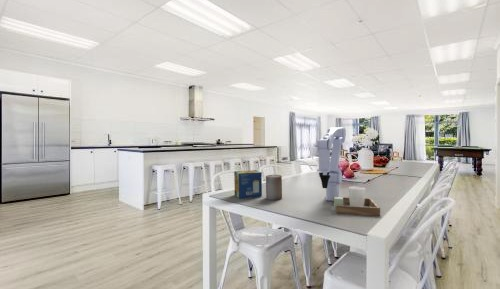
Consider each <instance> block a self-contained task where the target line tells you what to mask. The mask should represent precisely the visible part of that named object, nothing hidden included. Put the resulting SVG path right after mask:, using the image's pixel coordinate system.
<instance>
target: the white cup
mask: <svg viewBox="0 0 500 289" xmlns="http://www.w3.org/2000/svg"><path fill="white" fill-rule="evenodd" d="M348 197H349V201H350V204H349V206H361V207H365V205H364V202H365V198H366V188H365V187H363V186H362V187H361V186H349V187H348Z"/></svg>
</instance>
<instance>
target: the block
mask: <svg viewBox="0 0 500 289" xmlns="http://www.w3.org/2000/svg"><path fill="white" fill-rule="evenodd" d="M333 205H334V206H333V209H334V211H335V212H336V205H342V206H344V204H343V196H339V197H334V201H333Z"/></svg>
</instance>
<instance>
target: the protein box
mask: <svg viewBox="0 0 500 289" xmlns="http://www.w3.org/2000/svg"><path fill="white" fill-rule="evenodd" d="M233 174H234V176H233V177H234V183H233V184H234V196H235V195H236V196H237V197H238V198H237V197H236V196H235V197H236V198H237V199H239V198H240V199H250V198H249V197H252V198H260V197H259V196H263V194H262V193H263V192H262V191H263V190H262V188H263V186H262V185H263V184H262V183H263V182H262V181H263V180H262V179H263V178H262V177H263V176H262V174H263V173H262V172H261V171H259V170H257V169H254V170H234V171H233Z"/></svg>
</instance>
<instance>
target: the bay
mask: <svg viewBox="0 0 500 289" xmlns="http://www.w3.org/2000/svg"><path fill="white" fill-rule="evenodd" d="M342 197H343V196H342ZM335 212H336V214H348V215H364V216H365V215H366V216H381V208H380V206H379V205H378V204H377V203H376V202H375V201H374V200H373V199H372V198H370V197H369V198H367V197H365V202H364V207H361V206H350V201H349V196H344V197H343V206H342V205H336V211H335Z"/></svg>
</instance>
